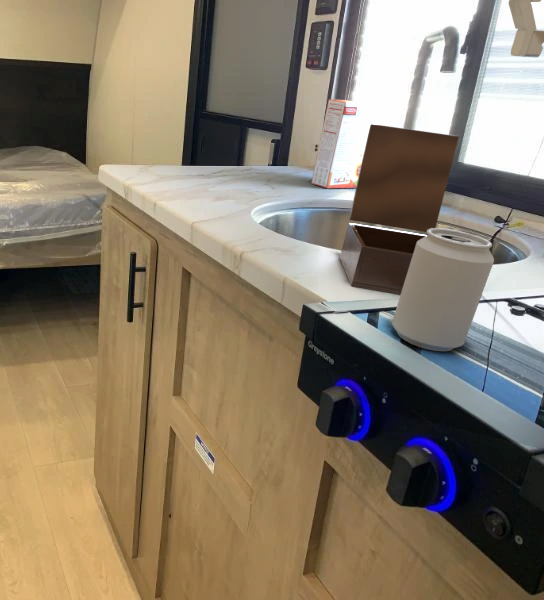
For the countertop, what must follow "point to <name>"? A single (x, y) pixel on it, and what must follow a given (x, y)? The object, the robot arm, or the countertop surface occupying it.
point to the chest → (377, 257)
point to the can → (443, 289)
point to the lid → (403, 177)
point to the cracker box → (343, 142)
